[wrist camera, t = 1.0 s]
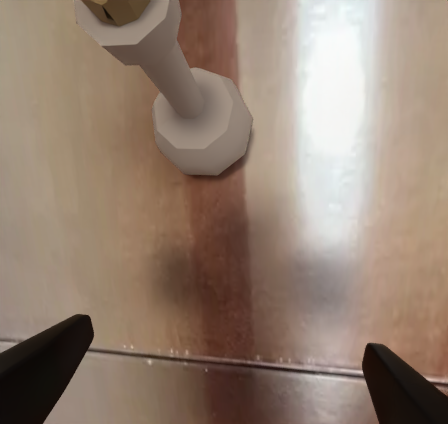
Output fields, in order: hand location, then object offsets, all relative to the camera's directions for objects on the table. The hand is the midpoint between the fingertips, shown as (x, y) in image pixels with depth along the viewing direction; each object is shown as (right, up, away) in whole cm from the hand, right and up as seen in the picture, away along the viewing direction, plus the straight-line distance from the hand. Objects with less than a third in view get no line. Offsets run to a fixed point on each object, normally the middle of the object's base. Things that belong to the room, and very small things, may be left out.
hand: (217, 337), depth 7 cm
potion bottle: (-1, +12, +16) cm, 20 cm away
